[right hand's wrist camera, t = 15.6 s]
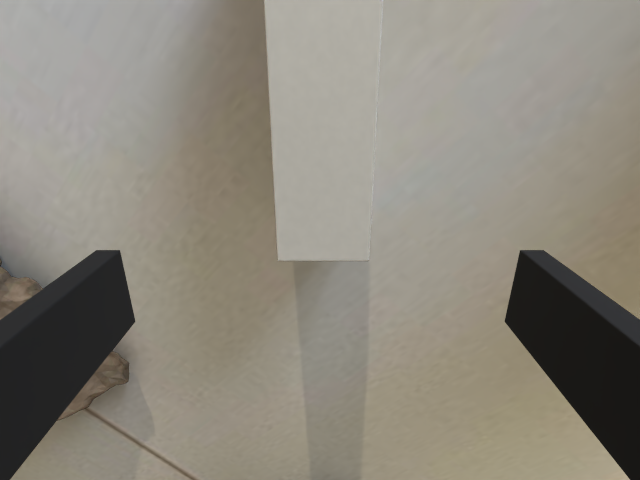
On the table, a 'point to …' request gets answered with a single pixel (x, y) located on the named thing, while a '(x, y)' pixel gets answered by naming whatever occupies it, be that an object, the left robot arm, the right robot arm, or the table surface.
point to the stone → (11, 292)
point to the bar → (323, 124)
